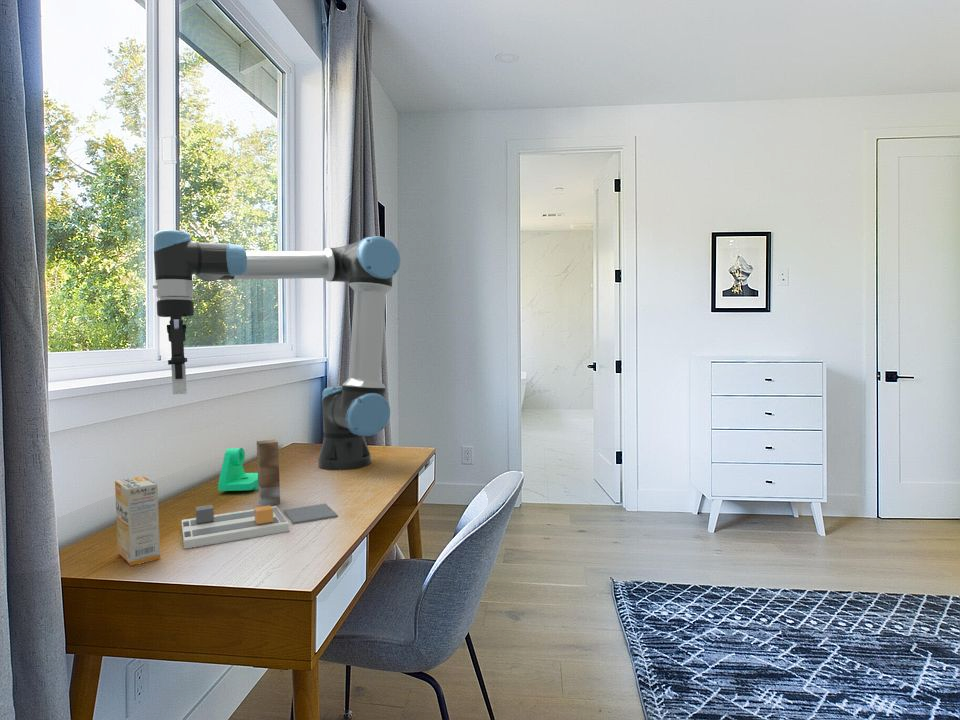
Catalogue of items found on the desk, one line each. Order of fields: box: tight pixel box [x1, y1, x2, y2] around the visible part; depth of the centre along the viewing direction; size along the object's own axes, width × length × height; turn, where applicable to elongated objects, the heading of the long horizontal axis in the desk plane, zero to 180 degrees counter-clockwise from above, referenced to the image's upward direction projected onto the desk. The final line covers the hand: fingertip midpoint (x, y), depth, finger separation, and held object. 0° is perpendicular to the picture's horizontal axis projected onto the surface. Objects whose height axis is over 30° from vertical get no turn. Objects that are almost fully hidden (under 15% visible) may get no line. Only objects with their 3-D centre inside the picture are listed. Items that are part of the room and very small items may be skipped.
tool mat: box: [283, 503, 339, 525], centre depth 123 cm, size 9×10×1 cm
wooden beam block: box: [256, 439, 281, 507], centre depth 132 cm, size 4×4×14 cm
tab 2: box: [253, 505, 273, 524], centre depth 114 cm, size 3×3×2 cm
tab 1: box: [195, 504, 215, 523], centre depth 115 cm, size 3×3×2 cm
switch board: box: [181, 505, 290, 550], centre depth 114 cm, size 18×14×2 cm
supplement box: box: [114, 475, 161, 567], centre depth 100 cm, size 8×5×13 cm, turn 45°
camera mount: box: [217, 447, 258, 492], centre depth 147 cm, size 12×8×10 cm, turn 179°
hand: (179, 391), depth 135 cm, fingers open, 13 cm apart
